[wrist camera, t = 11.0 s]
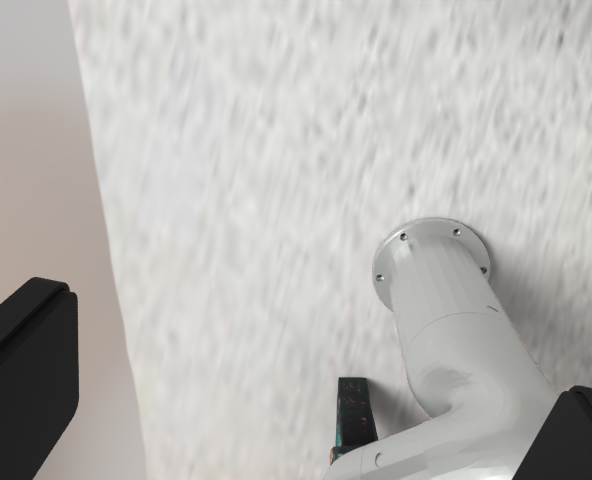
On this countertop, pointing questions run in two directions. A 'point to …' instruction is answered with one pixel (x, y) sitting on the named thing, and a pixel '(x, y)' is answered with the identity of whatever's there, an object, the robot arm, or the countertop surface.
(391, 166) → the countertop surface
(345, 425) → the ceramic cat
